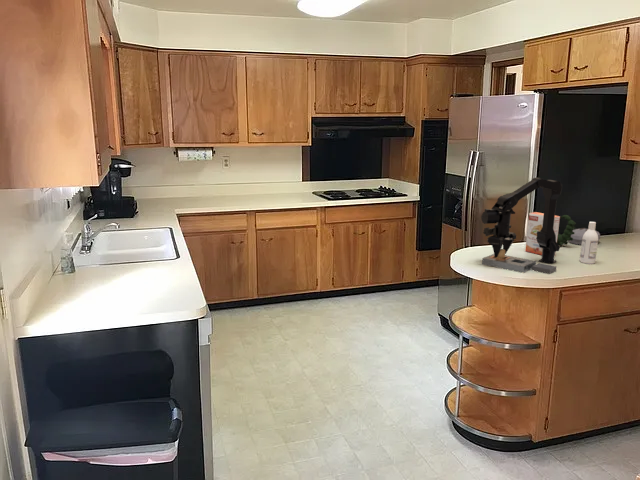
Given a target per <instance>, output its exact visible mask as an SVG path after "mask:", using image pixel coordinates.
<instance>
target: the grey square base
mask: <svg viewBox="0 0 640 480" xmlns="http://www.w3.org/2000/svg"><path fill="white" fill-rule="evenodd" d="M532 270H534V272H537V271H538V272H539V273H542V272H543V274H548V275H550V274H552V273H554V272H556V271H557V266H556V265H552V264H551V265H550V264H547V263H542V262H539V263H536V265H534V266H532V269H531V271H532ZM538 272H537V273H538Z"/></svg>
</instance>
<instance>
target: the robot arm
mask: <svg viewBox="0 0 640 480" xmlns="http://www.w3.org/2000/svg"><path fill="white" fill-rule="evenodd" d="M539 188H541V189H542V194H543V196H544V199H545V200H544V207H543V208H544V209H543V213H544V217H543V226H542V229H541V230H540V231H537V238H536V239H537V242H538V244H539V247H540V248H543V250H542V255H541V259H539V260H538V262H539V263H544V264H551V265H552V264H555V263H556V262H557V260H556V259H555V256H556V253H555V252H559V251H560V248H561V245H558V244H557V242H556V235H555V232H554V230H553V227H554V218H555V216H556V208H557V200H558V198H559V197H560V196H561V193H562V190H563V183H561V182H560V181H558V180H553V179H543V178H541V177H533V178H532V179H531V180H530V181H528V182H527V183H525V184H523V185H522V186H520V187H519V188H516V189H515V190H514V191H512V192H509V193H505V194H503V195H501V196H499V197H498V198H497V199H496V202H495V203H494V204H493V206H492V208H490V209H489V208H485V209H484V211H483V212H482V213H481V216H480V218H481V222H482V223H483V224H485V225H486V224H490V225H492V224H495V225H494V227H492V228H491V227H489V226H488V227H485V228H484V229H483V232H482V233H483V235H485V237H487V240H486V242H487V243H488V244H489V245H490V246H491V248H492V251H493V254H494V255H495V257H498V255H499V252H500V250H501V249H504V250H505V255H507V253H508V251H509V249H510V248H511V246H512V244H514V242H515V239H517V234H516V233H515V232H510V229H512V225H511V217H512V215H515V214H516V211H514V209H513V208H514V207H516V206H517V205H518V202H519V201H520V200H521V199H524V198H525V197H526V196H528V195H530V194H531V193H533V192H534V191H536V190H537V189H539Z"/></svg>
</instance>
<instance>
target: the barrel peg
mask: <svg viewBox="0 0 640 480" xmlns="http://www.w3.org/2000/svg"><path fill="white" fill-rule="evenodd" d="M505 255H506V254H505V250H504V249H503V248H501V250H500V252H499V255H498V257H496V258H498V259H505Z"/></svg>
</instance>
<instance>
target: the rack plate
mask: <svg viewBox="0 0 640 480" xmlns="http://www.w3.org/2000/svg"><path fill="white" fill-rule="evenodd" d="M481 260H482V261H481V265H484V266H489V267H492V268H493V267H494V268H498V269H502V268H503V270H507V269H508V271H512V270H514V271H513V272H517V271H519V272H518V273H522V272H524V273H526V272H528V270H529V271H531V270H532V266H534V265H536V264H537V260H534V259H527V258H523V257H517V256H513V255H512V256H511V255H507V254H505V259H498V258H496V257H495V255H494V253H493V254H490V255H487V256H485V257H482V259H481ZM530 269H531V270H530Z"/></svg>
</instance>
